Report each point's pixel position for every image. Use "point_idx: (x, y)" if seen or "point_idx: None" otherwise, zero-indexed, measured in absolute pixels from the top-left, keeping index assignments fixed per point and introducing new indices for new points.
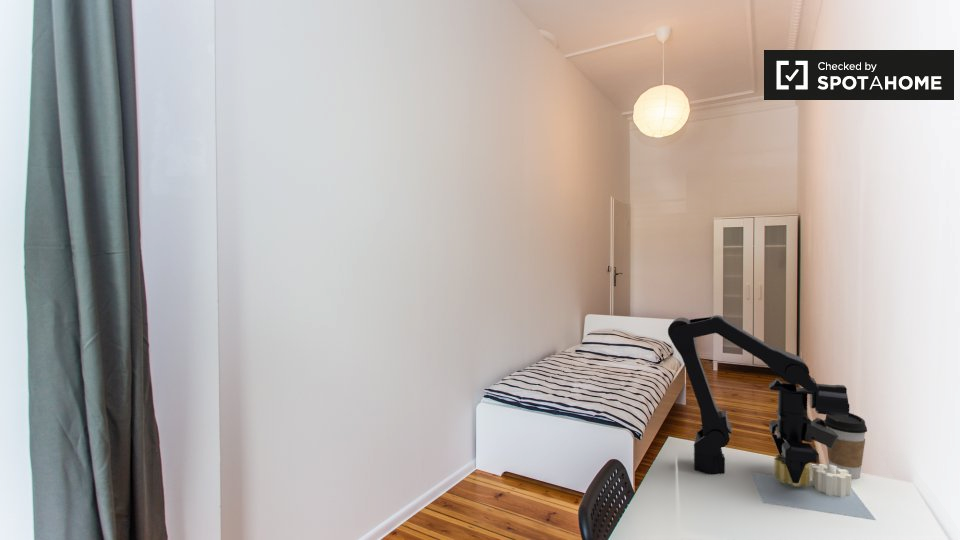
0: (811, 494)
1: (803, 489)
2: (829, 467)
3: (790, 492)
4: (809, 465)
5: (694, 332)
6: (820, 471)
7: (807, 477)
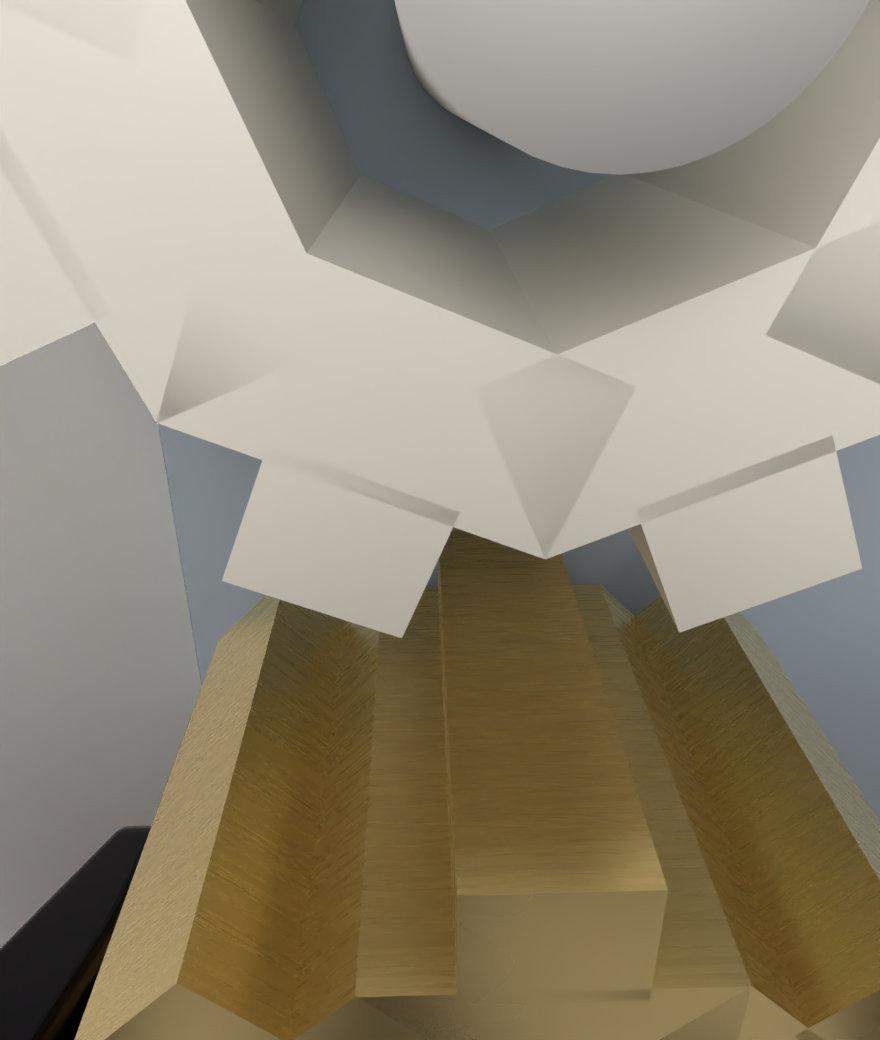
0: None
1: (649, 591)
2: (777, 104)
3: None
4: (651, 861)
5: None
6: (773, 483)
7: (806, 722)
